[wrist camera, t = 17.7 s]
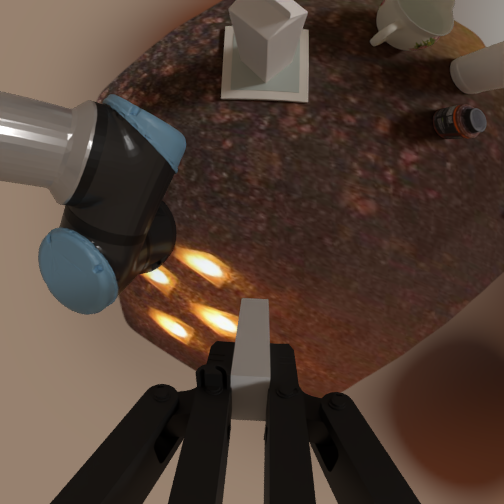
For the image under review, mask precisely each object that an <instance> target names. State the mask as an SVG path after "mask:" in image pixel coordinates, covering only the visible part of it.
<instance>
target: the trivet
mask: <svg viewBox="0 0 504 504" xmlns="http://www.w3.org/2000/svg"><path fill="white" fill-rule="evenodd" d="M308 69H309V30H306V29H302V32H301V35H300V38H299V42H298V45H297V48H296V51H295V54H294V57H293V61H292V63H290V64H289V65H288V66H287V67H285V68H284V69H283V70H282V71H280V72H279V73H278V74H277V75H275V76H274V77H273V78H272V79H270V80H269V81H268V82H267V83H265V82H264V81H263V80H262V79H261V78H260V77H259V76H257V75H256V74H255V73H254V72H253V71H252V70H251V69H250V68H249V67H248V66H247V65H245V64H244V63H243V62H242V61H241V59H240V55H239V51H238V46H237V42H236V38H235V34H234V30H233V26H225V40H224V54H223V71H222V88H221V99H222V100H269V101H286V102H299V103H308Z"/></svg>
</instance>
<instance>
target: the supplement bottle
mask: <svg viewBox="0 0 504 504" xmlns="http://www.w3.org/2000/svg"><path fill="white" fill-rule="evenodd" d="M433 126H434V129H435V131H436V132H437V134H438V135H439V136H441V137H442V138H445V139H461V138H474V137H476V136H477V135H478V134H479V132H482V131H484V130H485V128H486V118H485V116H484V114H483V112H482V111H481V110H480V109H478V108H473V107H472V106H470V105H466V104H463V105H457V106H452V107H448V108H443V109H439V110H437V111H436V112H435V114H434V116H433Z"/></svg>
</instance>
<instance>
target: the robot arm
mask: <svg viewBox="0 0 504 504" xmlns="http://www.w3.org/2000/svg"><path fill="white" fill-rule="evenodd" d="M185 149H186V141H185V138H184V136H183V135H182V134H181V133H180V132H179V131H178V130H176V129H175V128H173V127H172V126H170V125H169V124H167V123H165V122H164V121H162V120H161V119H159V118H157V117H155V116H154V115H152V114H150V113H148V112H147V111H145V110H143V109H140V108H139V107H137V106H136V105H134V104H132V103H130V102H129V101H127V100H125V99H123V98H121V97H119V96H116V95H114V94H110V95H109V96H108V97H107V98H106V99H104V101H103V104H100V103H97V102H94V101H91V100H89V101H86V102H84V103H82V104H80V105H78V106H77V107H75V108H73V109H68V108H65V107H61V106H58V105H54V104H50V103H46V102H42V101H39V100H35V99H31V98H27V97H23V96H19V95H14V94H10V93H6V92H1V91H0V181H6V182H13V183H20V184H26V185H33V186H39V187H45V188H48V189H49V190H50V192H51V194H52V195H53V197H54V199H55V200H56V202H57V203H59V204H61V205H66V206H65V209H64V213H63V216H62V220H61V224H60V227H59V228H55V229H53V230H51V232H49V233H48V235H47V236H46V237H45V238H44V239H43V241H42V243H41V245H40V248H39V256H38V260H39V268H40V271H41V274H42V277H43V279H44V281H45V283H46V284H47V286H48V288H49V290H50V292H51V293H52V294H53V296H54V297H55V298H56V299H57V300H58V301H59V302H60V303H61V304H63V305H64V306H65V307H67V308H69V309H70V310H72V311H75V312H77V313H81V314H93V313H94V314H95V313H98V312H100V311H102V310H103V309H104V308H106V307H107V306H109V305H110V304H112V303H113V302H114V301H115V299H116V298H117V296H118V295H119V294H120V293H121V292H122V291H123V290H124V289H125V288H126V287H127V286H128V285H129V284H130V283H131V282H132V280H133V279H134V278H135V277H136V276H137V275H138V274H143V273H148V272H151V271H153V270H155V269H157V268H158V267H160V266H161V265H162V264H163V263H164V262H165V261H166V260H167V259H168V257H169V256H170V254H171V253H172V251H173V248H174V246H175V242H176V225H175V221H174V218H173V215H172V213H171V211H170V210H169V208H168V207H167V205H166V204H165V203H164V202H163V201H162V199H163V197H164V195H165V193H166V191H167V188H168V186H169V184H170V182H171V180H172V178H173V176H174V174H176V173H177V171H178V168H177V167H178V165H179V163H180V160H181V158H182V156H183V154H184V151H185ZM295 363H296V362H295V355H294V350H293V349H292V347H291V346H290V345H289V344H272V343H270V337H269V304H268V299H249V298H242V301H241V307H240V314H239V321H238V328H237V335H236V342H222V341H216V342H215V343H214V344H213V345H212V346H211V349H210V353H209V356H208V361H207V364H206V365H202V366H201V367H199V368H198V369H197V371H196V381H197V387H196V388H194V389H192V390H188V391H180V392H177V391H176V390H175V388H173V387H172V386H170V385H166V384H160V385H159V384H158V385H155V386H152V387H151V388H149V389H148V390H147V391H146V392H145V393H144V395H143V396H142V397H141V398H140V399H139V400H138V402H137V403H136V404H135V405H134V406H133V408H132V409H131V410H130V411H129V413H128V414H127V415H126V416H125V417H124V418H123V419H122V420H121V422H120V423H119V424H118V425H117V426H116V428H115V429H114V430H113V431H112V432H111V433H110V435H109V436H108V437H107V438H106V439H105V441H104V442H103V443H102V444H101V445H100V446H99V447H98V449H97V450H96V451H95V452H94V453H93V454H92V456H91V457H90V458H89V459H88V460H87V461H86V463H85V464H84V465H83V466H82V467H81V468H80V470H79V471H78V472H77V473H76V474H75V475H74V477H73V478H72V479H71V480H70V481H69V482H68V483H67V485H66V486H65V487H64V488H63V489H62V490H61V492H60V493H59V494H58V495H57V496H56V497H55V498H54V500H53V501H52V502H51V503H50V504H143V502H144V500H145V499H146V498H147V496H148V494H149V493H150V491H151V490H152V488H153V487H154V485H155V484H156V482H157V480H158V479H159V477H160V475H161V474H162V473H163V471H164V469H165V468H166V466H167V465H168V463H169V461H170V460H171V458H172V457H173V455H174V453H175V452H176V450H177V449H178V447H179V445H180V444H181V442H182V441H183V444H182V448H181V452H180V456H179V460H178V464H177V468H176V472H175V476H174V480H173V485H172V489H171V493H170V497H169V502H168V504H222V502H223V493H224V484H225V475H226V466H227V457H228V447H229V439H230V430H231V419H236V420H256V421H266V425H265V426H266V427H265V434H264V440H265V463H264V465H265V466H264V467H265V468H264V504H316V500H315V491H314V481H313V472H312V464H311V456H310V447H309V442H310V444H311V447H312V449H313V451H314V453H315V455H316V457H317V460H318V462H319V464H320V466H321V468H322V470H323V473H324V475H325V477H326V479H327V481H328V483H329V485H330V488H331V490H332V492H333V494H334V496H335V498H336V500H337V502H338V504H421V503H420V502H419V500H418V499H417V497H416V496H415V494H414V493H413V491H412V489H411V488H410V487H409V485H408V484H407V482H406V480H405V479H404V477H403V476H402V475H401V473H400V471H399V470H398V468H397V467H396V465H395V464H394V462H393V461H392V459H391V458H390V456H389V455H388V453H387V452H386V450H385V449H384V447H383V446H382V444H381V443H380V441H379V440H378V438H377V437H376V435H375V434H374V432H373V431H372V429H371V428H370V426H369V425H368V423H367V422H366V420H365V419H364V417H363V415H362V414H361V412H360V411H359V409H358V408H357V406H356V405H355V404H354V402H353V400H352V399H351V398H350V397H349V396H347V395H345V394H343V393H339V392H332V393H329V394H326V395H325V396H324V397H323V398H317V397H313V396H310V395H308V394H306V393H304V392H303V391H302V390H301V388H300V387H299V384H298V377H297V370H296V364H295ZM183 439H184V440H183Z"/></svg>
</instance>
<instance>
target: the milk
mask: <svg viewBox="0 0 504 504" xmlns="http://www.w3.org/2000/svg"><path fill="white" fill-rule="evenodd" d="M307 13H308V12H307V11H306V10H305V9H303V8H302V7H301V6H300V5H298V4H297V3H296V2H295V1H293V0H236V1H235V2H234V3H233V4H232V5H231V7H230V8H229V14H230V18H231V22H232V26H233V30H234V34H235V38H236V42H237V46H238V51H239V55H240V59H241V61H242V62H243V63H244V64H245V65H247V66H248V67H249V68H250V69H251V70H252V71H253V72H254V73H255V74H256V75H257V76H259V77H260V78H261V79H262V80H263V81H264V82H265V83H267V82H268V81H269V80H270V79H272V78H273V77H274V76H275V75H277V74H278V73H279V72H280V71H282V70H283V69H284V68H285V67H287V66H288V65H289V64H290V63H292V61H293V57H294V54H295V51H296V48H297V45H298V42H299V38H300V35H301V32H302V29H303V26H304V23H305V20H306V17H307Z"/></svg>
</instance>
